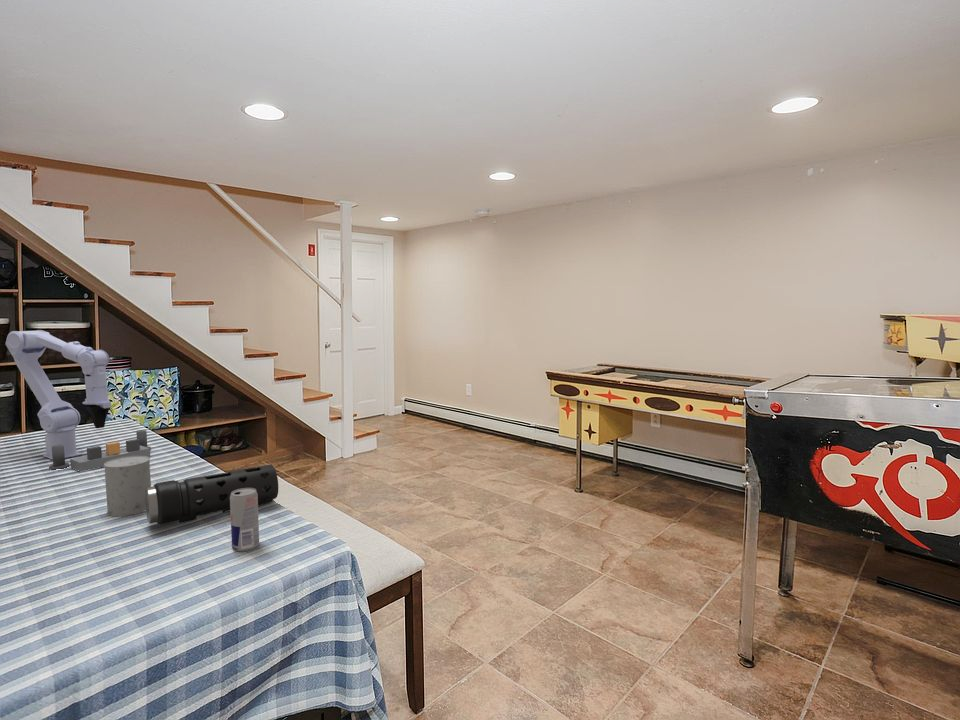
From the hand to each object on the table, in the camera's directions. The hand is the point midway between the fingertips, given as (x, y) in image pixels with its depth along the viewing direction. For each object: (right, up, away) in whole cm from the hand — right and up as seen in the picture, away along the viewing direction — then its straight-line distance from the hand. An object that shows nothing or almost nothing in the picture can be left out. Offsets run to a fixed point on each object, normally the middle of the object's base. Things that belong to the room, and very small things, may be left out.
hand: (99, 427), depth 174 cm
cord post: (+8, -10, +10) cm, 16 cm away
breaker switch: (+8, -8, -5) cm, 12 cm away
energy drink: (+76, -18, -62) cm, 100 cm away
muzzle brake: (+61, -16, -45) cm, 78 cm away
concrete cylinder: (+38, -15, -42) cm, 59 cm away
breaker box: (+7, -11, -4) cm, 13 cm away
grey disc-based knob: (-5, -12, -10) cm, 16 cm away
